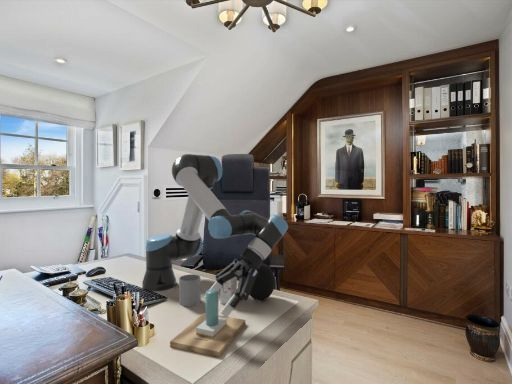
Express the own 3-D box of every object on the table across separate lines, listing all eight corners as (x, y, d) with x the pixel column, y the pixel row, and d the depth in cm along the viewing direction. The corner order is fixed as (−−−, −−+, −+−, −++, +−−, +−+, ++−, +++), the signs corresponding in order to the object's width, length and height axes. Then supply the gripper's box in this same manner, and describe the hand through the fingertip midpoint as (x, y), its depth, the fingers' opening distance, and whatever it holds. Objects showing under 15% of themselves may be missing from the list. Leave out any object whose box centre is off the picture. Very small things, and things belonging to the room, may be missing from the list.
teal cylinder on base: (196, 334, 89) (195, 295, 89) (211, 321, 97) (210, 286, 97) (213, 338, 87) (213, 298, 86) (226, 324, 95) (226, 288, 95)
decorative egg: (245, 306, 113) (245, 268, 113) (244, 294, 126) (244, 259, 125) (276, 305, 114) (277, 267, 114) (272, 293, 127) (273, 259, 126)
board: (170, 346, 85) (170, 341, 85) (203, 317, 104) (203, 312, 104) (219, 357, 80) (219, 351, 80) (245, 324, 99) (245, 319, 99)
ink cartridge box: (226, 295, 124) (226, 261, 124) (237, 296, 123) (237, 262, 123) (219, 303, 116) (219, 267, 115) (231, 304, 115) (231, 268, 114)
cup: (189, 308, 111) (189, 282, 111) (174, 303, 116) (174, 278, 116) (204, 300, 119) (204, 276, 118) (190, 296, 123) (190, 273, 123)
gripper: (283, 270, 89) (240, 330, 82) (244, 253, 111) (208, 299, 104) (268, 255, 87) (222, 316, 79) (232, 240, 108) (193, 287, 101)
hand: (214, 306), depth 92 cm, fingers open, 13 cm apart
